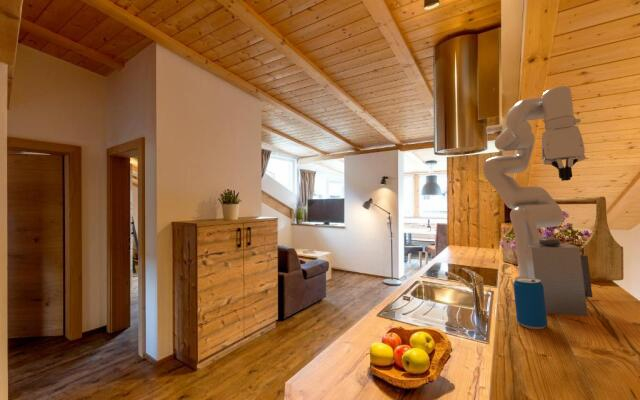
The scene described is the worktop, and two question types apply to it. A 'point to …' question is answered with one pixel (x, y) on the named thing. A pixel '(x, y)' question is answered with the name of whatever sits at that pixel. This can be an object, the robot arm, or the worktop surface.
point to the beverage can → (530, 302)
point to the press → (560, 276)
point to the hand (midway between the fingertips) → (566, 180)
